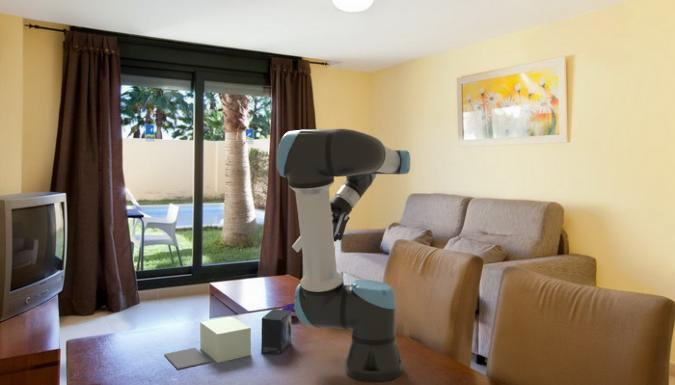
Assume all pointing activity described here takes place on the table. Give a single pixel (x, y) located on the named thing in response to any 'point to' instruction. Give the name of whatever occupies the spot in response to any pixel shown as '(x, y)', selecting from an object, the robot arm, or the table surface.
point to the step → (225, 339)
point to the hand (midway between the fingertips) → (306, 252)
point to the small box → (276, 331)
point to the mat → (186, 358)
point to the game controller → (288, 307)
